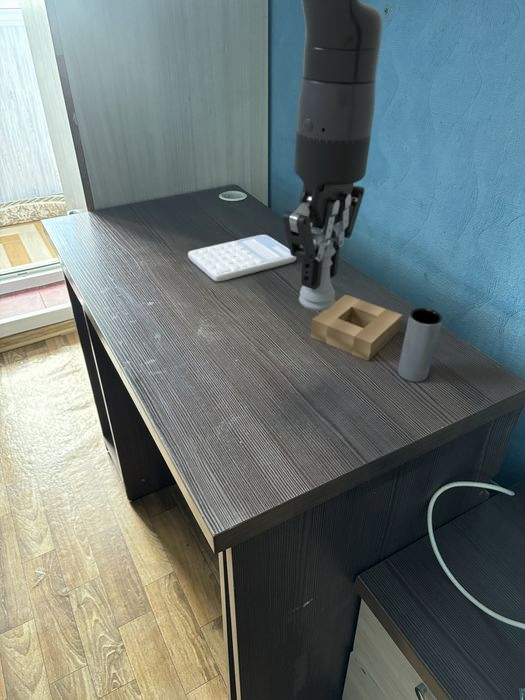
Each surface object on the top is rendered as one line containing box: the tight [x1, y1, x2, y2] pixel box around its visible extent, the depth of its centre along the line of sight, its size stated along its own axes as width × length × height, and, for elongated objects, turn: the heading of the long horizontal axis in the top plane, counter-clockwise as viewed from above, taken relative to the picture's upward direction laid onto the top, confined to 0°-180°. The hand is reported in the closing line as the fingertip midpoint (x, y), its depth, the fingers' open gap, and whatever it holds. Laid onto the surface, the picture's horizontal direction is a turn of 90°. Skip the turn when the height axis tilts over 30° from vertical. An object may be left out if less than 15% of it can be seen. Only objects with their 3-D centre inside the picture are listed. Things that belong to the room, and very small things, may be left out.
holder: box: [310, 294, 403, 362], centre depth 87 cm, size 11×11×4 cm
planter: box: [397, 307, 443, 383], centre depth 76 cm, size 4×4×10 cm
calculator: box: [187, 234, 298, 282], centre depth 110 cm, size 13×20×2 cm, turn 122°
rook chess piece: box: [298, 239, 336, 312], centre depth 62 cm, size 4×4×8 cm
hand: (319, 280), depth 62 cm, fingers closed on rook chess piece, 3 cm apart
